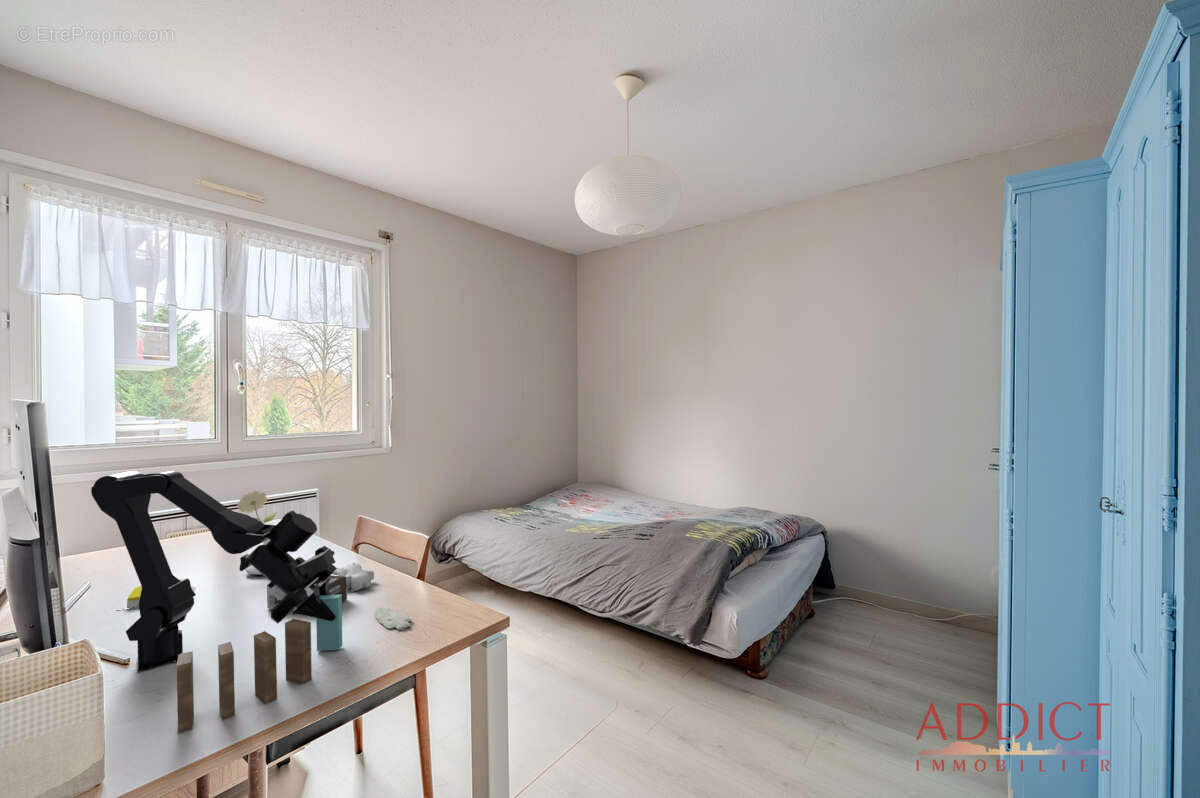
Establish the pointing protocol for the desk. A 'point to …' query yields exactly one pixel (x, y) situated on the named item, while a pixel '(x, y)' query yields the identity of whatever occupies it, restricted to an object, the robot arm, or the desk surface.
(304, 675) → the domino
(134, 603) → the emergency button
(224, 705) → the domino
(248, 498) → the flower in vase
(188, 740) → the desk surface
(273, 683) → the domino
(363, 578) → the bunny figurine
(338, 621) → the teal domino
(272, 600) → the coffee box
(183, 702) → the domino
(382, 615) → the stone tool
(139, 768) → the desk surface
